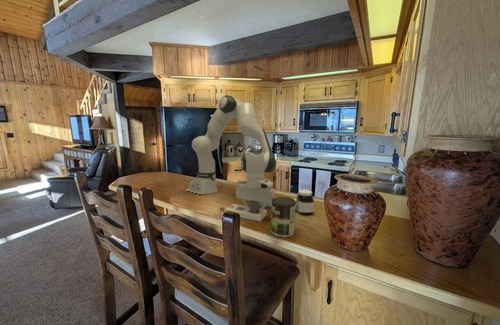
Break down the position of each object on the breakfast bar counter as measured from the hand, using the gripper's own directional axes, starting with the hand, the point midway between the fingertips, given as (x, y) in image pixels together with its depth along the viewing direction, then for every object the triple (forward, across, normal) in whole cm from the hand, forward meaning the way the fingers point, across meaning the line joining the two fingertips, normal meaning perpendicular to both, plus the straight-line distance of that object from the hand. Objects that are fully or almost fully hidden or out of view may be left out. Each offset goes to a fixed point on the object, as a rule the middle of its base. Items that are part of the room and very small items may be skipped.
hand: (254, 208), depth 108 cm
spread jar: (+4, +20, +17) cm, 27 cm away
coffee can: (+4, +17, -9) cm, 20 cm away
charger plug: (+4, 0, 0) cm, 4 cm away
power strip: (+4, -7, 0) cm, 9 cm away
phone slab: (+5, 0, +18) cm, 19 cm away
